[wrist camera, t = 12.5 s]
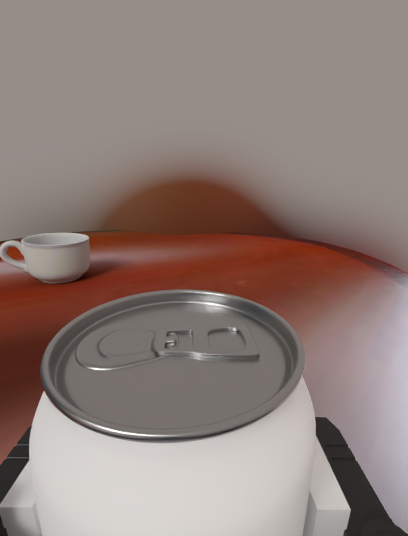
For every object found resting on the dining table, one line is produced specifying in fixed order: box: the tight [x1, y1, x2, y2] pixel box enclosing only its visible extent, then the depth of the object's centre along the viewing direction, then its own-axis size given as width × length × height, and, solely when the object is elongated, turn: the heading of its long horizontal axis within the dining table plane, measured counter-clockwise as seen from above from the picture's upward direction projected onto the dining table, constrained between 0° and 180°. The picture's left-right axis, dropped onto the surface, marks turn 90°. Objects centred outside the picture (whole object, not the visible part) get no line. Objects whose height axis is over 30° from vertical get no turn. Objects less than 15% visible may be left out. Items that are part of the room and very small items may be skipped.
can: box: [29, 290, 316, 536], centre depth 8 cm, size 6×6×12 cm
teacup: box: [0, 233, 90, 284], centre depth 47 cm, size 14×11×8 cm
